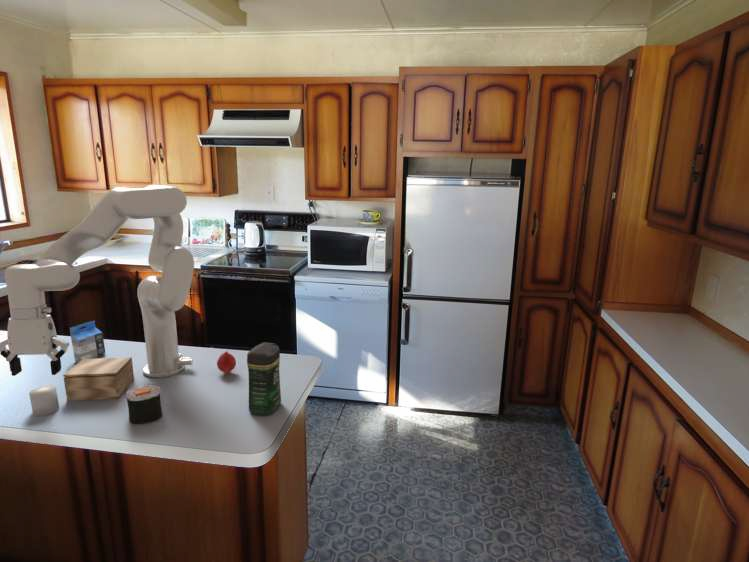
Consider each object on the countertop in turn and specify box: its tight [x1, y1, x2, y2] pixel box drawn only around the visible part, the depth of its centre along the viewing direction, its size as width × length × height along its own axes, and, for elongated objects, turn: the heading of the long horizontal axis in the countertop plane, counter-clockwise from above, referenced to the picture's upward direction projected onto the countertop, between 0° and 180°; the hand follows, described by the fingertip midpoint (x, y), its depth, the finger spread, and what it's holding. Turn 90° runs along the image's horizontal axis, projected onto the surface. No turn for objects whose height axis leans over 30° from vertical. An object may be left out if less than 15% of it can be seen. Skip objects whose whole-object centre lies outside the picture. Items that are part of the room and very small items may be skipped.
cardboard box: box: [63, 359, 135, 402], centre depth 139 cm, size 14×12×7 cm
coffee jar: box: [246, 341, 282, 416], centre depth 129 cm, size 10×8×19 cm
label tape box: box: [69, 320, 107, 363], centre depth 160 cm, size 9×4×12 cm, turn 155°
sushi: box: [125, 384, 163, 426], centre depth 125 cm, size 8×8×8 cm
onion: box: [216, 350, 237, 375], centre depth 151 cm, size 6×6×8 cm
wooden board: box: [62, 357, 133, 378], centre depth 138 cm, size 14×12×1 cm
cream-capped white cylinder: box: [28, 384, 60, 417], centre depth 127 cm, size 6×6×6 cm
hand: (36, 373), depth 125 cm, fingers open, 9 cm apart
